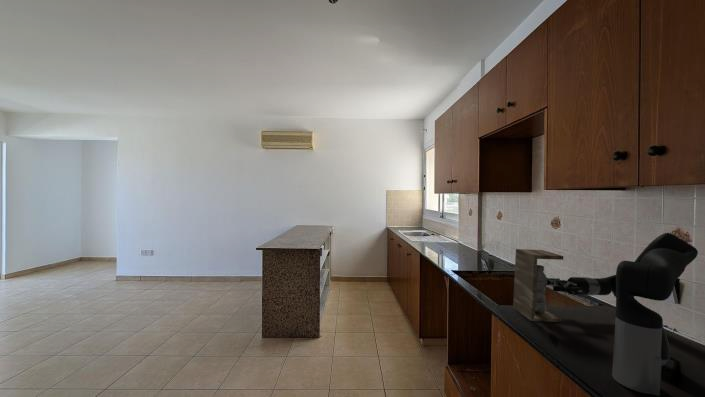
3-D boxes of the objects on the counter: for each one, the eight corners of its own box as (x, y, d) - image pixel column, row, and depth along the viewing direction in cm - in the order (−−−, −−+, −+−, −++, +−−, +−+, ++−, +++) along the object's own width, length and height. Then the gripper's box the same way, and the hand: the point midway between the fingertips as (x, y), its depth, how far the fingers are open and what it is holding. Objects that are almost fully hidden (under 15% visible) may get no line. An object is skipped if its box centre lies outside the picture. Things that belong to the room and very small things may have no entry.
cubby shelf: (538, 309, 134) (541, 249, 133) (559, 321, 121) (563, 256, 120) (512, 308, 133) (515, 249, 133) (531, 320, 120) (534, 255, 120)
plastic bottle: (549, 315, 123) (551, 268, 123) (531, 314, 125) (533, 266, 124) (542, 310, 130) (544, 264, 129) (525, 308, 131) (527, 263, 131)
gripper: (571, 273, 135) (536, 272, 134) (597, 282, 120) (559, 281, 120) (570, 289, 135) (535, 288, 134) (597, 300, 121) (558, 299, 120)
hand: (546, 285), depth 127 cm, fingers open, 8 cm apart
